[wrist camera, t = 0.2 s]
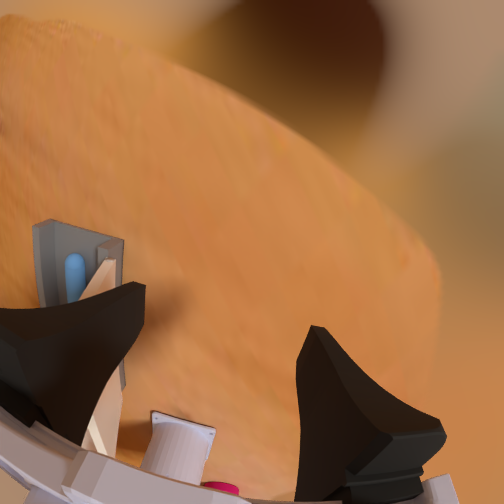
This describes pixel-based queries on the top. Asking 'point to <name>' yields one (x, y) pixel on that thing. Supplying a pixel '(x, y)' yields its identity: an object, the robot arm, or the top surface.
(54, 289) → the cable duct
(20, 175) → the top surface
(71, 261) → the blue rounded capsule rod
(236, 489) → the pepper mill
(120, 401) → the panel
